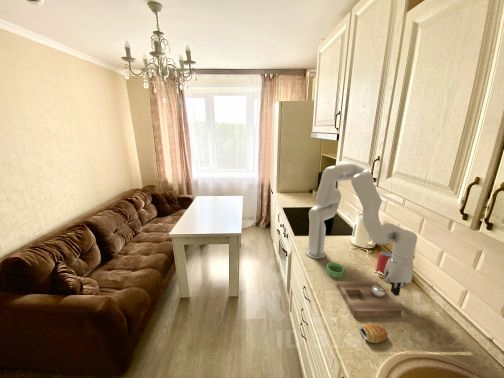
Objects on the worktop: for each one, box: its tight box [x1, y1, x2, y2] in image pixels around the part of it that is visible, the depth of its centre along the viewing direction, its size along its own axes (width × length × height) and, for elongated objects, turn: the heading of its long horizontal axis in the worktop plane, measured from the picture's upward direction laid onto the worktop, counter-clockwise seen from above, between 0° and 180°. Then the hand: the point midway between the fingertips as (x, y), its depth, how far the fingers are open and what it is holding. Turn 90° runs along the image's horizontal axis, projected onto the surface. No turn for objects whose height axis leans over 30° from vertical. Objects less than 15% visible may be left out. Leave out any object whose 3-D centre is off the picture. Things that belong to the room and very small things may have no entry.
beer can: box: [375, 250, 392, 274], centre depth 116 cm, size 7×7×12 cm
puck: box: [371, 285, 386, 299], centre depth 97 cm, size 5×5×3 cm
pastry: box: [358, 323, 388, 344], centre depth 80 cm, size 9×7×4 cm
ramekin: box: [326, 262, 345, 279], centre depth 116 cm, size 9×9×4 cm
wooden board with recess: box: [336, 280, 403, 318], centre depth 98 cm, size 18×20×3 cm
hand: (394, 293), depth 98 cm, fingers closed
